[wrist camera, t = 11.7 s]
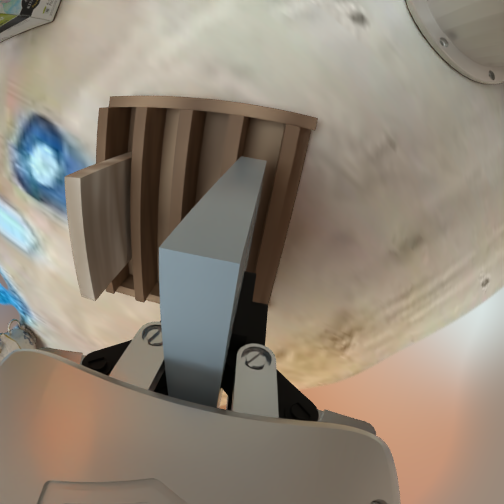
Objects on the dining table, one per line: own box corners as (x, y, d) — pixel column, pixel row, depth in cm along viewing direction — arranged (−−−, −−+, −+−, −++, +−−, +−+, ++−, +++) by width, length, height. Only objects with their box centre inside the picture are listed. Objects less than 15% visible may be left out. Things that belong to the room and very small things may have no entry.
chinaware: (74, 395, 47) (54, 450, 33) (25, 371, 45) (1, 419, 31) (38, 313, 34) (-8, 387, 19) (-16, 287, 32) (-59, 343, 17)
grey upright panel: (266, 160, 14) (239, 263, 4) (237, 316, 19) (208, 462, 10) (241, 156, 14) (158, 247, 4) (218, 312, 19) (178, 455, 10)
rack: (312, 118, 17) (338, 118, 9) (266, 306, 25) (258, 384, 17) (129, 96, 17) (51, 99, 9) (126, 274, 25) (80, 334, 17)
